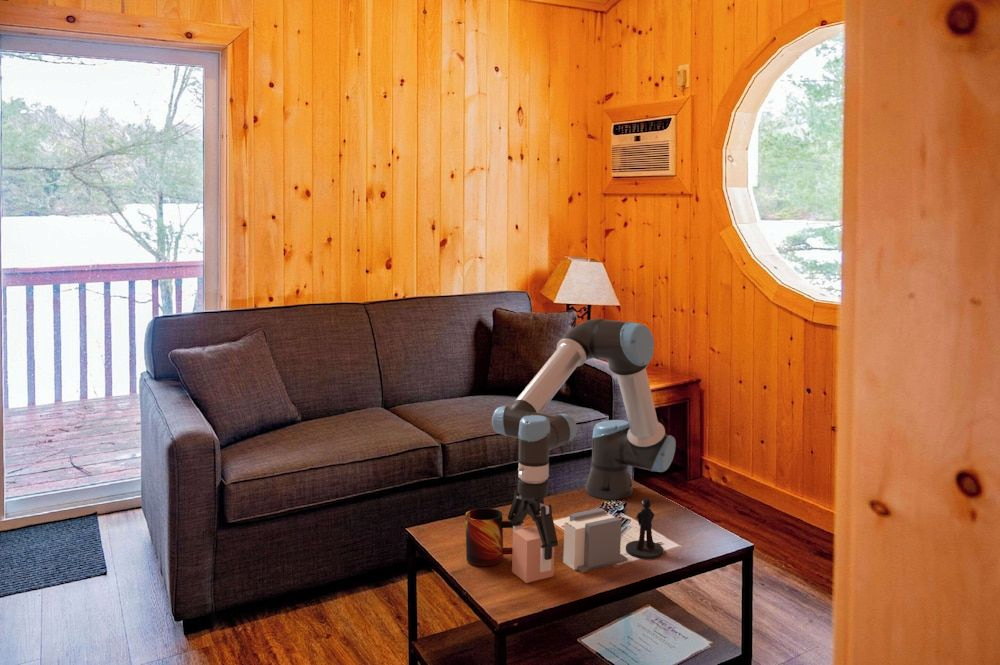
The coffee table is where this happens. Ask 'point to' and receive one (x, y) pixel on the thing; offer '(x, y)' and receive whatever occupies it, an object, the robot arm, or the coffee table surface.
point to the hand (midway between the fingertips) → (531, 560)
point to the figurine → (646, 547)
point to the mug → (485, 536)
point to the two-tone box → (592, 540)
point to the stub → (529, 555)
